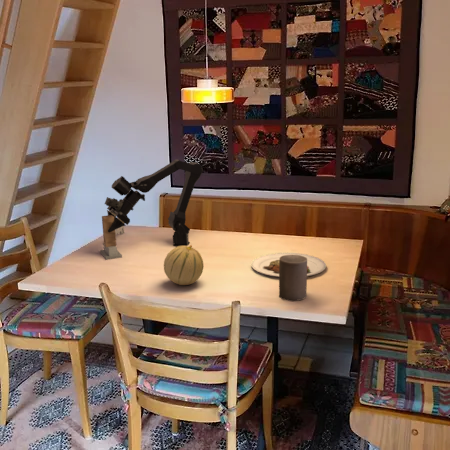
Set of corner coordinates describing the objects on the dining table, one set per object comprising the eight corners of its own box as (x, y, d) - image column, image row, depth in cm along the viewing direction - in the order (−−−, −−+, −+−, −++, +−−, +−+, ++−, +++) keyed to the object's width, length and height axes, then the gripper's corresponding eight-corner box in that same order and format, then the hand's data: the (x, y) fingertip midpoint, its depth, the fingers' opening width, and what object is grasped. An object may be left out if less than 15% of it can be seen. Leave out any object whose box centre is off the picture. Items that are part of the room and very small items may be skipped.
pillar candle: (275, 299, 187) (275, 257, 184) (283, 289, 196) (283, 249, 193) (303, 302, 184) (304, 260, 180) (309, 292, 193) (310, 252, 189)
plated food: (267, 253, 239) (267, 246, 238) (334, 262, 226) (334, 254, 225) (239, 274, 213) (239, 266, 212) (313, 285, 200) (313, 277, 199)
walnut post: (113, 243, 242) (111, 214, 239) (116, 245, 238) (114, 217, 235) (104, 244, 240) (101, 216, 237) (106, 247, 236) (104, 218, 233)
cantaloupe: (160, 280, 208) (158, 242, 204) (196, 274, 213) (195, 238, 209) (171, 293, 194) (169, 253, 191) (209, 287, 200) (208, 248, 196)
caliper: (122, 233, 276) (121, 221, 274) (124, 233, 276) (123, 221, 274) (102, 245, 257) (101, 232, 255) (104, 245, 256) (103, 232, 255)
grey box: (100, 252, 244) (99, 242, 243) (115, 250, 247) (114, 240, 246) (106, 259, 234) (105, 249, 233) (122, 257, 237) (121, 247, 235)
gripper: (110, 187, 243) (87, 214, 241) (120, 194, 227) (96, 223, 225) (128, 202, 248) (106, 228, 247) (140, 210, 232) (116, 238, 230)
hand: (105, 229), depth 237 cm, fingers open, 9 cm apart
